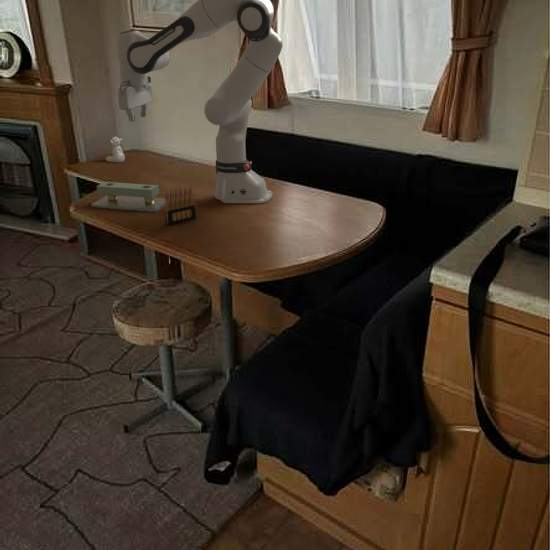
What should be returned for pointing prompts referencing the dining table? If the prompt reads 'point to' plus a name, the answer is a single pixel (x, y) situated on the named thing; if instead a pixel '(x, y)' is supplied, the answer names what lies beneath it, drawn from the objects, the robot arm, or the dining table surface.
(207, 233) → the dining table surface
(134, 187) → the board
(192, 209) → the ammunition clip
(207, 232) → the dining table surface
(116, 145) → the sitting furry creature
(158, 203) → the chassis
